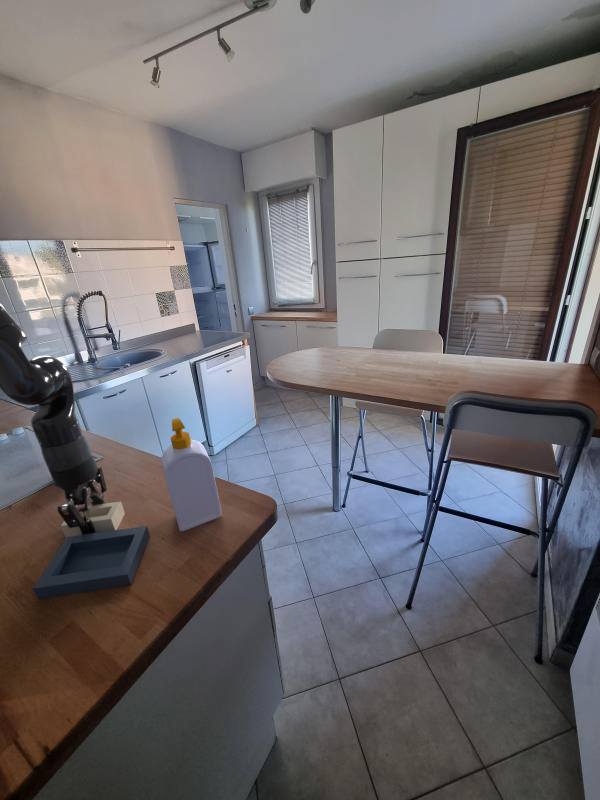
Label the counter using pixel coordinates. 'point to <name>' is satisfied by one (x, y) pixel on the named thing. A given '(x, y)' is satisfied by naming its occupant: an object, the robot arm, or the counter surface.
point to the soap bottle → (190, 480)
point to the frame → (99, 518)
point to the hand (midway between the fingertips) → (96, 523)
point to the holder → (93, 562)
